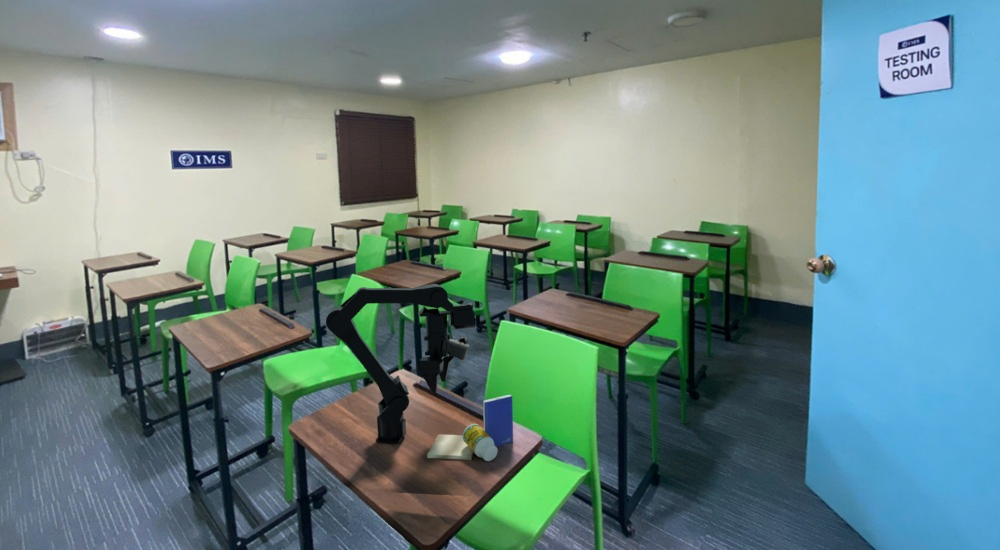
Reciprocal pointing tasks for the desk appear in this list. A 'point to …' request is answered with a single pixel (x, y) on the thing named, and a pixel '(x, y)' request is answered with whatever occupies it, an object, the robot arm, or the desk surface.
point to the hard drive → (499, 419)
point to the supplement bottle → (480, 442)
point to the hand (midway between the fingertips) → (439, 387)
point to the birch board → (450, 448)
